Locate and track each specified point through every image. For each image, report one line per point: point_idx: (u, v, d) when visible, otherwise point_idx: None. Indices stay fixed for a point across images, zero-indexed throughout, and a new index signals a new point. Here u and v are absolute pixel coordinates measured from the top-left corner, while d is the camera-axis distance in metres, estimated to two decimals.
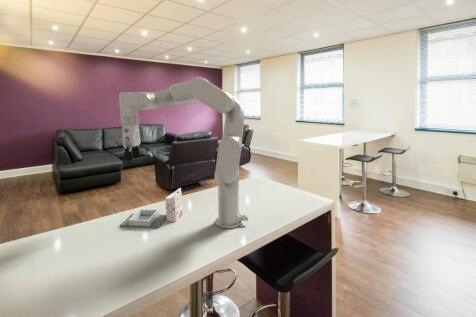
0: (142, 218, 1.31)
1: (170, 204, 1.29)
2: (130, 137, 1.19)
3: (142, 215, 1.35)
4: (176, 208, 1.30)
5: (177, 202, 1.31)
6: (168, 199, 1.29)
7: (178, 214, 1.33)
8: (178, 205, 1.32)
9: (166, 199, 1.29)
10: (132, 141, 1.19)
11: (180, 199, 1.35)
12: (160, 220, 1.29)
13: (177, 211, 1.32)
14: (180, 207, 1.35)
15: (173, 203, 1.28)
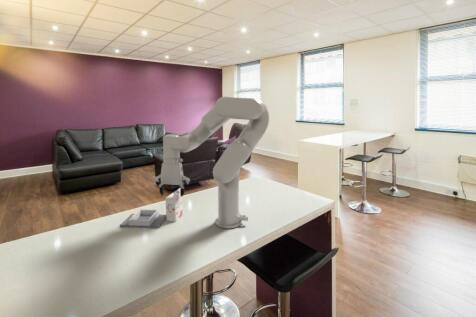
0: (142, 218, 1.31)
1: (170, 204, 1.29)
2: None
3: (142, 215, 1.35)
4: (176, 208, 1.30)
5: (177, 202, 1.31)
6: (168, 199, 1.29)
7: (178, 214, 1.33)
8: (178, 205, 1.32)
9: (166, 199, 1.29)
10: None
11: (180, 199, 1.35)
12: (160, 220, 1.29)
13: (177, 211, 1.32)
14: (180, 207, 1.35)
15: (173, 203, 1.28)
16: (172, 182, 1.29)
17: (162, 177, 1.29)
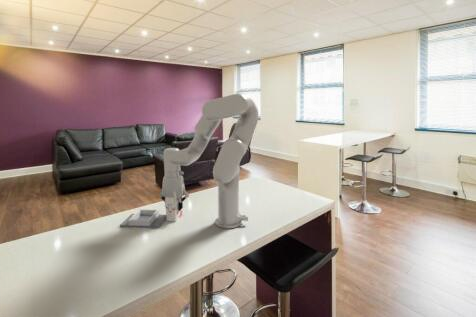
0: (142, 218, 1.31)
1: (170, 204, 1.29)
2: (184, 187, 1.33)
3: (142, 215, 1.35)
4: (176, 208, 1.30)
5: (177, 202, 1.31)
6: (168, 199, 1.29)
7: (178, 214, 1.33)
8: (178, 205, 1.32)
9: (166, 199, 1.29)
10: None
11: None
12: (160, 220, 1.29)
13: (177, 211, 1.32)
14: None
15: (173, 203, 1.28)
16: None
17: (164, 190, 1.30)
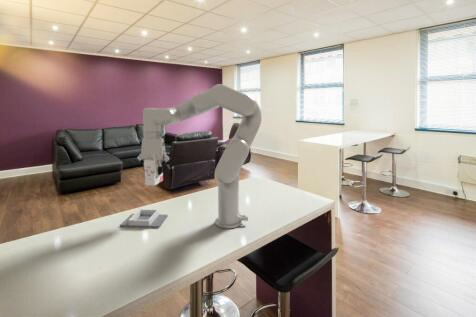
0: (142, 218, 1.31)
1: (149, 166, 1.23)
2: (164, 150, 1.27)
3: (142, 215, 1.35)
4: (155, 171, 1.24)
5: (157, 166, 1.25)
6: (147, 161, 1.22)
7: (158, 178, 1.27)
8: (157, 169, 1.26)
9: (145, 161, 1.23)
10: None
11: None
12: (160, 220, 1.29)
13: (157, 175, 1.26)
14: None
15: (152, 165, 1.22)
16: None
17: (143, 152, 1.24)
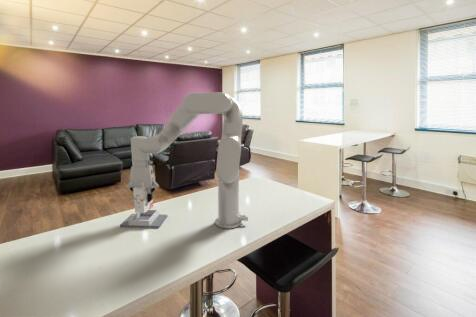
0: (142, 218, 1.31)
1: (138, 195, 1.23)
2: (153, 177, 1.27)
3: (142, 215, 1.35)
4: (145, 199, 1.25)
5: (146, 193, 1.26)
6: (136, 189, 1.23)
7: (148, 205, 1.28)
8: (147, 196, 1.27)
9: (134, 189, 1.23)
10: (154, 180, 1.28)
11: None
12: (160, 220, 1.29)
13: (147, 203, 1.27)
14: None
15: (141, 194, 1.23)
16: None
17: (132, 181, 1.24)
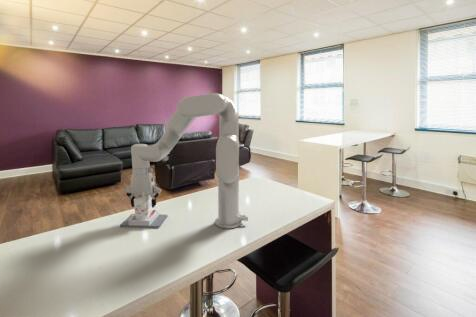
0: None
1: (139, 205, 1.24)
2: (154, 184, 1.28)
3: None
4: (145, 209, 1.26)
5: (146, 203, 1.27)
6: (137, 200, 1.24)
7: (148, 215, 1.29)
8: (147, 206, 1.28)
9: (135, 200, 1.24)
10: None
11: (150, 199, 1.31)
12: (160, 220, 1.29)
13: (147, 213, 1.28)
14: (150, 208, 1.31)
15: (142, 204, 1.24)
16: None
17: (132, 188, 1.25)
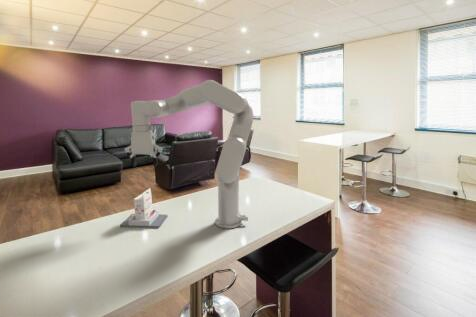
0: None
1: (139, 205, 1.24)
2: None
3: None
4: (145, 209, 1.26)
5: (146, 203, 1.27)
6: (137, 200, 1.24)
7: (148, 215, 1.29)
8: (147, 206, 1.28)
9: (135, 200, 1.24)
10: None
11: (150, 199, 1.31)
12: (160, 220, 1.29)
13: (147, 213, 1.28)
14: (150, 208, 1.31)
15: (142, 204, 1.24)
16: (143, 151, 1.23)
17: (132, 147, 1.22)
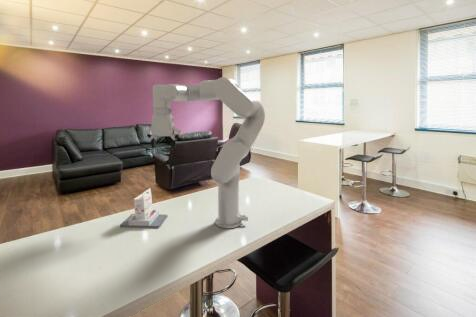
0: None
1: (139, 205, 1.24)
2: None
3: None
4: (145, 209, 1.26)
5: (146, 203, 1.27)
6: (137, 200, 1.24)
7: (148, 215, 1.29)
8: (147, 206, 1.28)
9: (135, 200, 1.24)
10: None
11: (150, 199, 1.31)
12: (160, 220, 1.29)
13: (147, 213, 1.28)
14: (150, 208, 1.31)
15: (142, 204, 1.24)
16: (163, 133, 1.28)
17: (153, 128, 1.28)
